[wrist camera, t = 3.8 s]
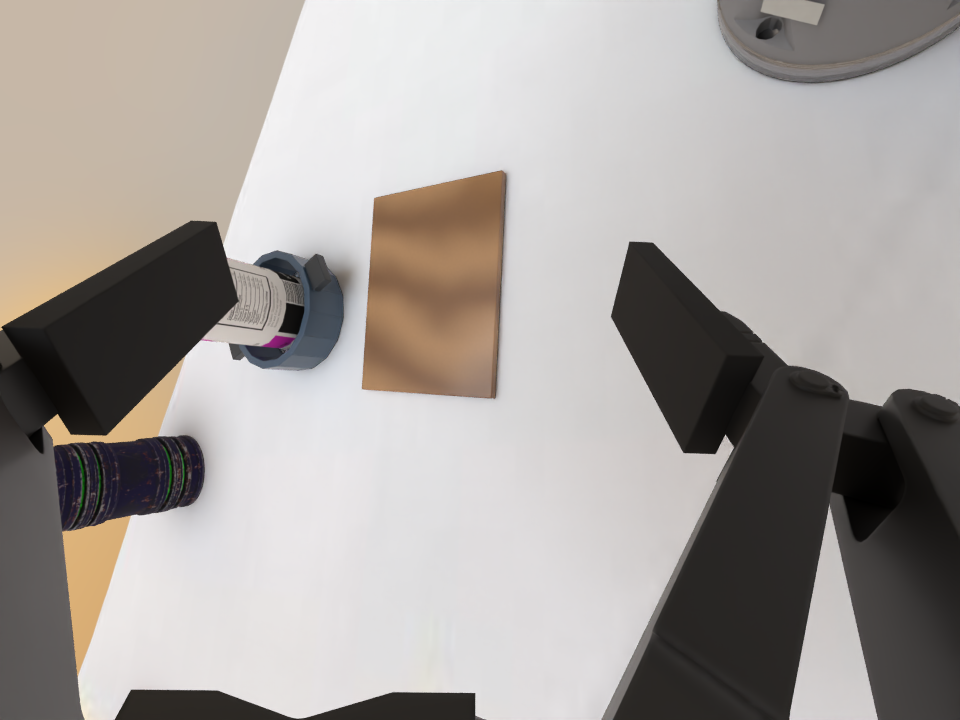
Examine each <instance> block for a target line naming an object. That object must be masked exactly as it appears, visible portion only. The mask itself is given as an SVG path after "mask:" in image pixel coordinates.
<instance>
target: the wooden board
mask: <svg viewBox="0 0 960 720" xmlns="http://www.w3.org/2000/svg"><path fill="white" fill-rule="evenodd" d="M505 185H506V173H505V172H504V171H502V170H501V171H497V172H492V173H488V174H483V175H478V176H474V177H469V178H464V179H460V180H455V181H451V182H446V183H441V184H437V185H432V186H427V187H423V188H418V189H414V190H409V191H404V192H400V193H395V194H390V195H386V196H381V197H377V198H374V209H373V224H372V240H371V256H370V271H369V287H368V302H367V318H366V333H365V349H364V364H363V380H362V389H365V390H379V391H393V392H408V393H422V394H436V395H450V396H464V397H478V398H495V390H496V369H497V349H498V328H499V308H500V287H501V267H502V247H503V226H504V206H505Z"/></svg>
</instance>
